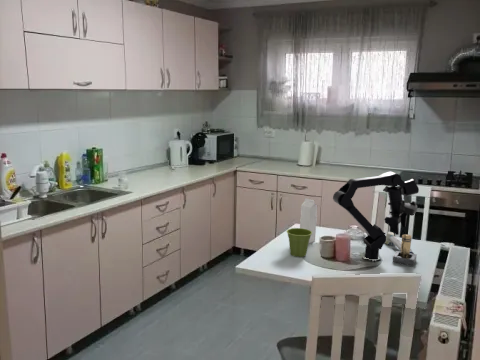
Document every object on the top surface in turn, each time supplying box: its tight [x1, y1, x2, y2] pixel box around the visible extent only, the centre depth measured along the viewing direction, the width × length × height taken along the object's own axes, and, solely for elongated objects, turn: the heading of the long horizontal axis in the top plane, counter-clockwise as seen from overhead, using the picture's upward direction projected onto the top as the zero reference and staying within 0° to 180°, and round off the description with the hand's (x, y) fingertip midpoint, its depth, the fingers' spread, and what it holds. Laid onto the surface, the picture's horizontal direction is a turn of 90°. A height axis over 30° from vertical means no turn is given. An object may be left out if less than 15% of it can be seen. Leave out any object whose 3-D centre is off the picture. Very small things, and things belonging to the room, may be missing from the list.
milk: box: [299, 197, 318, 245], centre depth 239 cm, size 6×6×22 cm
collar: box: [392, 250, 418, 267], centre depth 216 cm, size 9×9×3 cm
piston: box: [400, 233, 413, 258], centre depth 216 cm, size 4×4×12 cm
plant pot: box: [286, 227, 312, 258], centre depth 219 cm, size 12×12×11 cm
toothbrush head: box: [384, 231, 415, 254], centre depth 233 cm, size 5×7×25 cm
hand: (400, 230), depth 218 cm, fingers open, 9 cm apart
